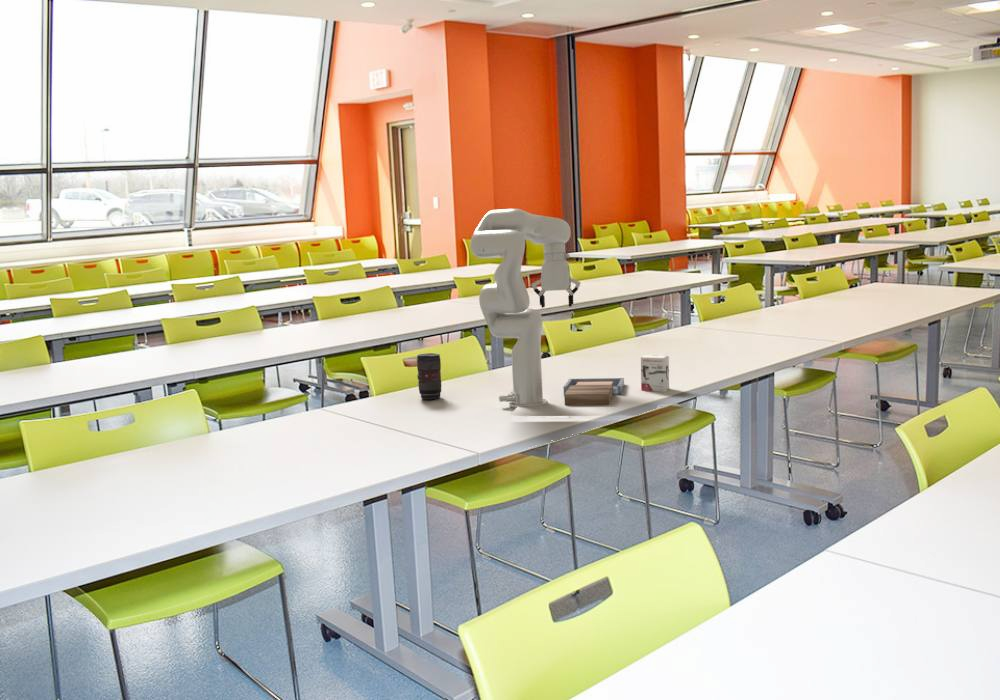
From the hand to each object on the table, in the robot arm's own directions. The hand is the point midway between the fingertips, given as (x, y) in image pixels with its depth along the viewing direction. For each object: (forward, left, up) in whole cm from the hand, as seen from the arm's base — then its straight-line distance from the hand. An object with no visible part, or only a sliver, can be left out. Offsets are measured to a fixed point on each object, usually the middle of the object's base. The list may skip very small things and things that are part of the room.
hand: (556, 306), depth 315 cm
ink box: (+24, -26, -28) cm, 45 cm away
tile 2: (+6, -17, -25) cm, 31 cm away
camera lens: (-46, +5, -28) cm, 54 cm away
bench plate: (-2, -29, -28) cm, 41 cm away
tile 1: (+4, -20, -28) cm, 35 cm away
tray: (+6, -15, -28) cm, 33 cm away
